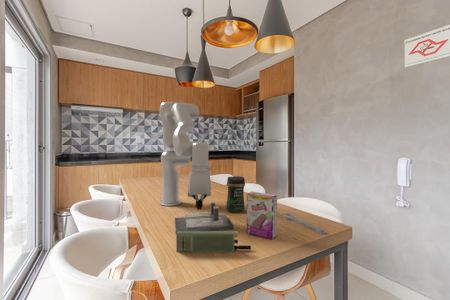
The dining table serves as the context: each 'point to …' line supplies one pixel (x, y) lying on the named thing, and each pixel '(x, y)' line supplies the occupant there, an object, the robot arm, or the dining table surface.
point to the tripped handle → (212, 207)
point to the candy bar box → (261, 214)
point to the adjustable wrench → (303, 223)
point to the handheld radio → (208, 241)
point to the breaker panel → (202, 222)
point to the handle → (216, 213)
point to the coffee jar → (235, 194)
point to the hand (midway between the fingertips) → (199, 208)
